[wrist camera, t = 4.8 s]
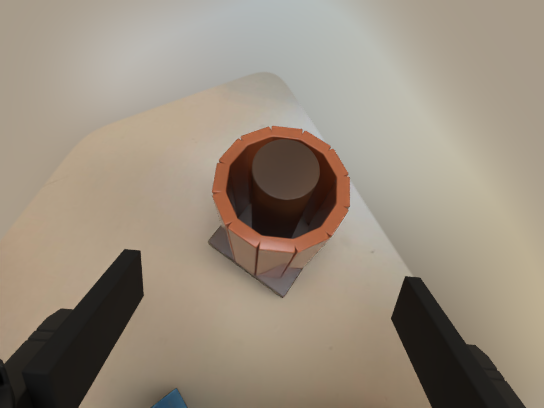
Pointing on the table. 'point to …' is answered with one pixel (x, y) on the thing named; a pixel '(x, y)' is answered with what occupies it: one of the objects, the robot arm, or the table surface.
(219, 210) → the orange hollow cylinder
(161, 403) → the perfume bottle
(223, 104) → the table surface
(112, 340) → the robot arm
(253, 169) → the stand
